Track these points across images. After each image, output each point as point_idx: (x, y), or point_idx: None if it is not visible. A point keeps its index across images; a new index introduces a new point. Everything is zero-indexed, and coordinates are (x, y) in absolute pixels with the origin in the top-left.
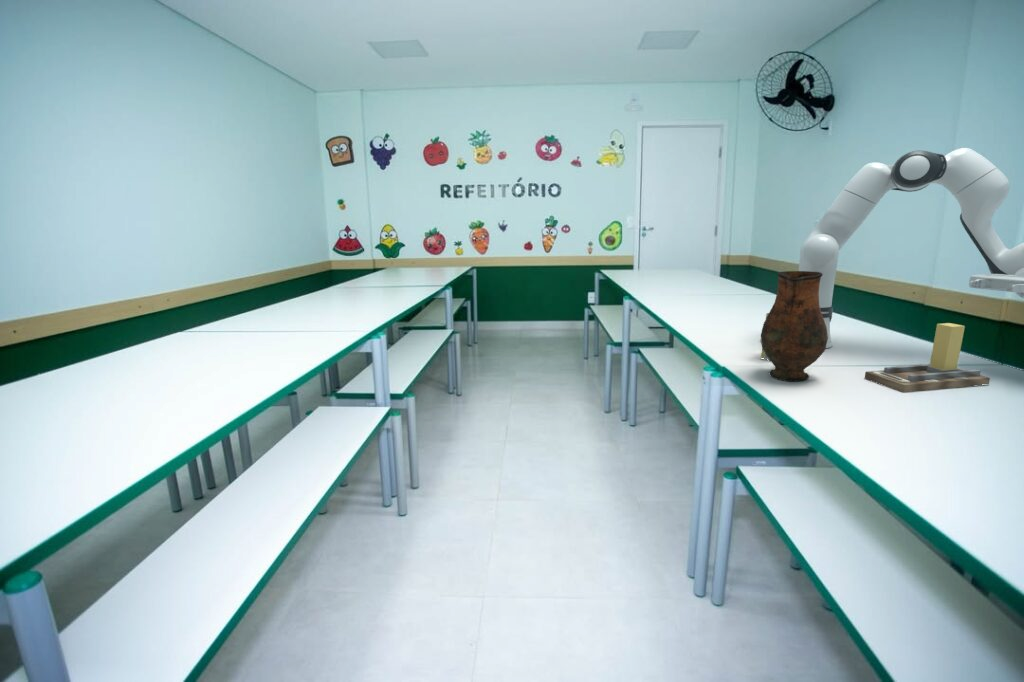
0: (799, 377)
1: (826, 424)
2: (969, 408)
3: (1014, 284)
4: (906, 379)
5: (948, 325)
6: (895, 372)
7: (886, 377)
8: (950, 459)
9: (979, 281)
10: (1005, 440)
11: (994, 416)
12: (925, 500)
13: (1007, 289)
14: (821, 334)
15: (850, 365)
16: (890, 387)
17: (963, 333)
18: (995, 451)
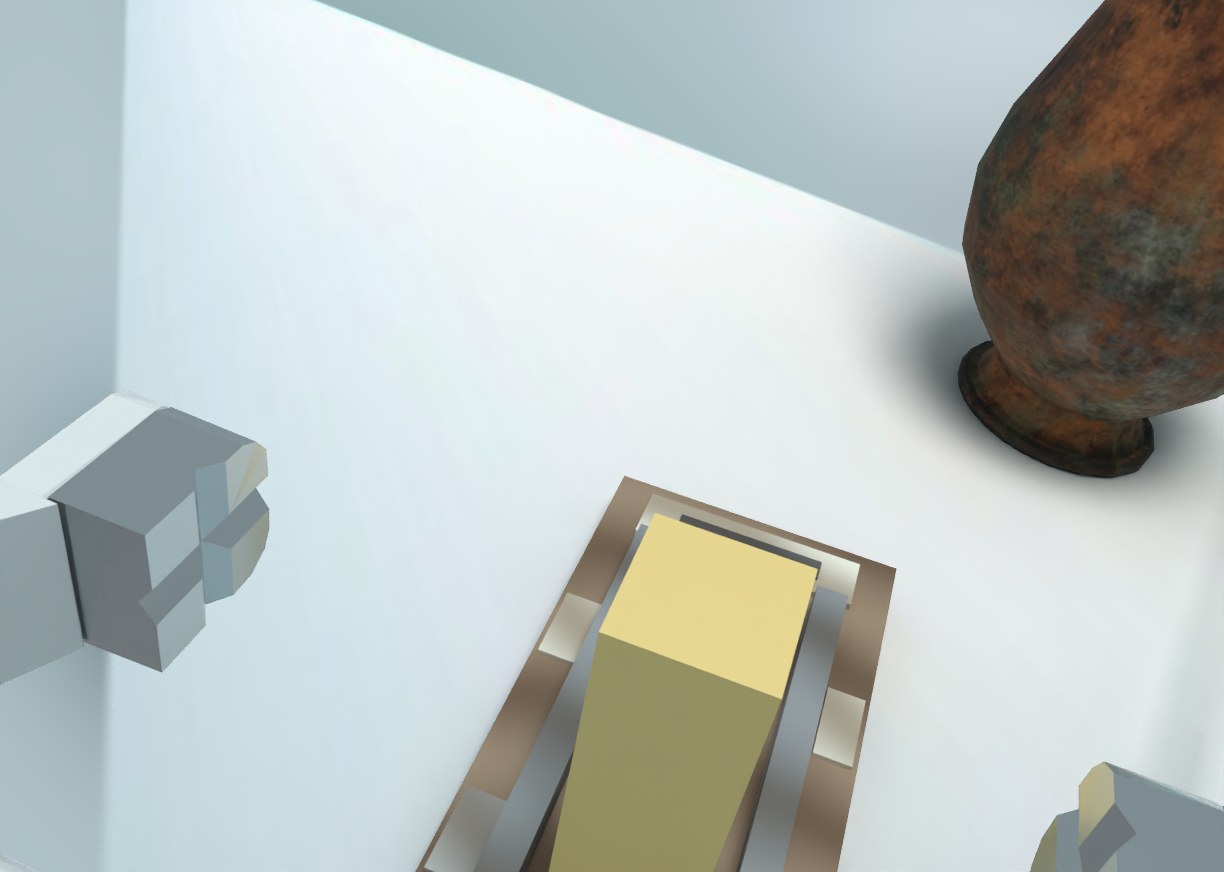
0: (975, 368)
1: (588, 142)
2: (308, 484)
3: (127, 483)
4: None
5: (710, 557)
6: (796, 654)
7: (755, 532)
8: (266, 120)
9: (1111, 867)
10: (149, 267)
11: None
12: (268, 5)
13: (261, 511)
14: (1005, 152)
15: None
16: None
17: (586, 691)
18: (173, 194)
